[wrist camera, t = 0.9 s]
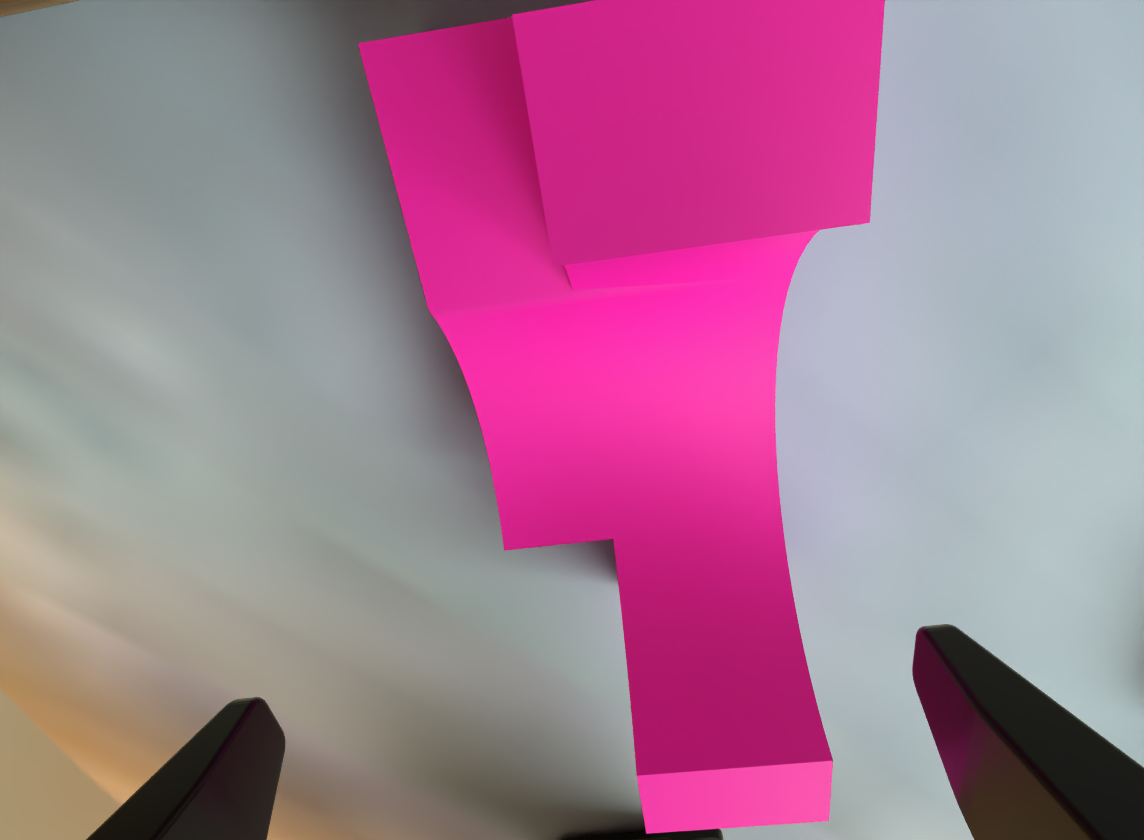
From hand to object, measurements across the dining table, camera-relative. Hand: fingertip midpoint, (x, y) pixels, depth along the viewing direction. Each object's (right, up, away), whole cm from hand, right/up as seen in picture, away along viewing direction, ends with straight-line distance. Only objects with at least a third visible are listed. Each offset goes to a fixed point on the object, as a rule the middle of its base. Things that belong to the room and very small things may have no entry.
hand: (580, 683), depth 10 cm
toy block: (+1, +5, +8) cm, 10 cm away
